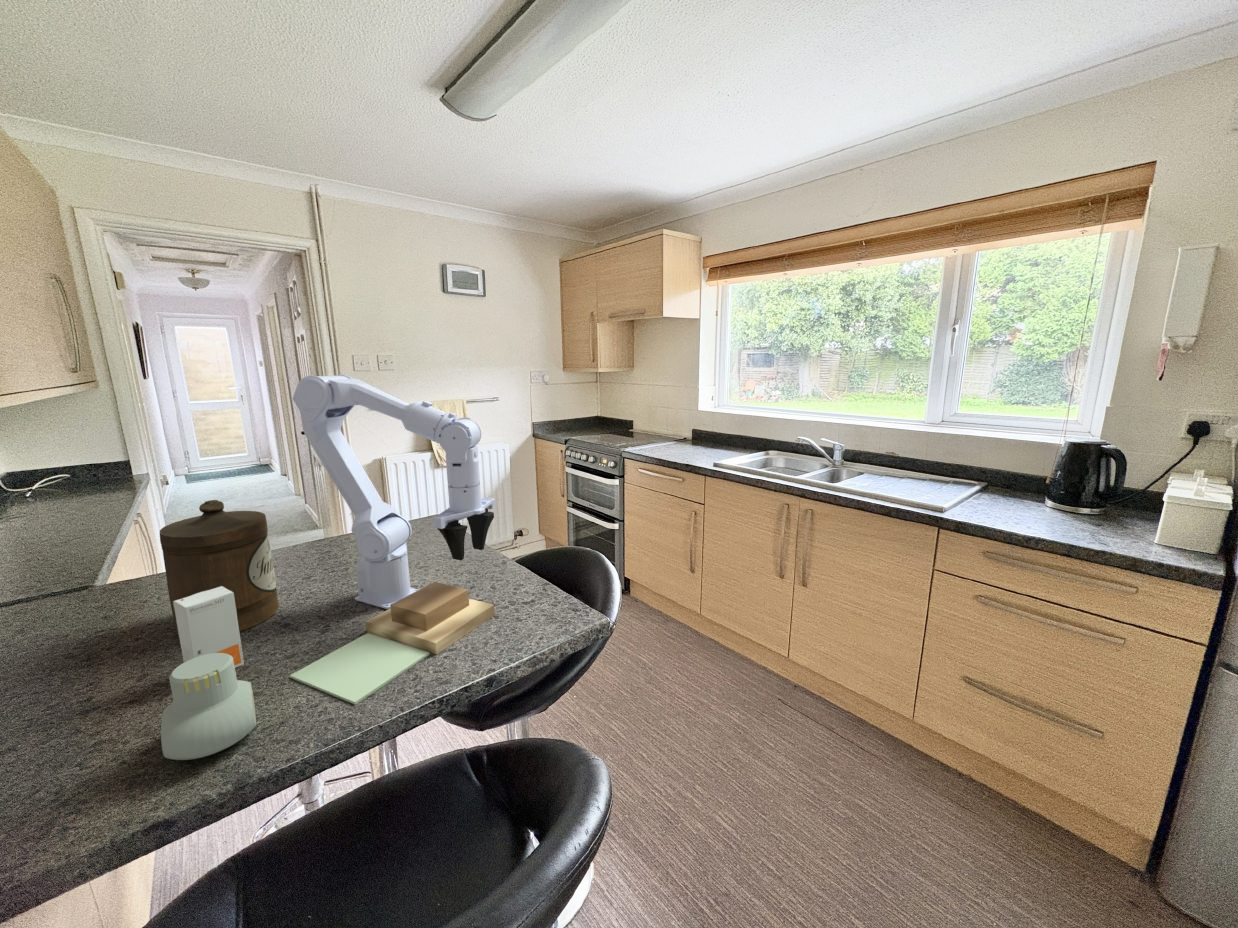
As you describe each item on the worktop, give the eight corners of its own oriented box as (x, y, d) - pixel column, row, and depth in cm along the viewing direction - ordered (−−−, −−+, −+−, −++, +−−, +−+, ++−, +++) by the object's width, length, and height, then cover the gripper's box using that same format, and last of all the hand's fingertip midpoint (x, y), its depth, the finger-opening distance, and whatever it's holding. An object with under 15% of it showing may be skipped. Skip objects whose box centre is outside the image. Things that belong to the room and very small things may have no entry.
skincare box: (197, 685, 71) (182, 608, 69) (185, 676, 73) (171, 600, 71) (246, 664, 76) (234, 591, 74) (234, 656, 78) (221, 584, 76)
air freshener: (174, 728, 63) (159, 656, 61) (254, 702, 68) (243, 634, 66) (165, 785, 54) (148, 703, 52) (259, 749, 59) (246, 674, 57)
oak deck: (366, 632, 85) (365, 621, 85) (429, 598, 98) (428, 588, 97) (436, 654, 78) (435, 642, 78) (494, 614, 91) (494, 604, 90)
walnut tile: (391, 620, 85) (390, 604, 84) (436, 596, 94) (435, 581, 93) (426, 631, 81) (425, 614, 81) (469, 605, 90) (468, 589, 90)
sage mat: (290, 677, 73) (289, 675, 73) (368, 634, 84) (367, 632, 84) (355, 704, 67) (355, 702, 67) (429, 654, 78) (429, 652, 78)
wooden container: (289, 616, 91) (272, 499, 86) (182, 650, 80) (157, 519, 76) (268, 592, 101) (252, 486, 96) (170, 619, 90) (147, 501, 86)
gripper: (452, 495, 84) (457, 571, 87) (506, 478, 97) (509, 544, 100) (421, 491, 87) (427, 564, 90) (477, 475, 100) (481, 539, 103)
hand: (468, 553), depth 95 cm, fingers open, 5 cm apart
